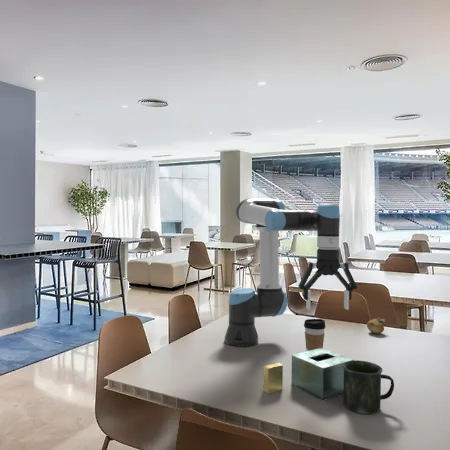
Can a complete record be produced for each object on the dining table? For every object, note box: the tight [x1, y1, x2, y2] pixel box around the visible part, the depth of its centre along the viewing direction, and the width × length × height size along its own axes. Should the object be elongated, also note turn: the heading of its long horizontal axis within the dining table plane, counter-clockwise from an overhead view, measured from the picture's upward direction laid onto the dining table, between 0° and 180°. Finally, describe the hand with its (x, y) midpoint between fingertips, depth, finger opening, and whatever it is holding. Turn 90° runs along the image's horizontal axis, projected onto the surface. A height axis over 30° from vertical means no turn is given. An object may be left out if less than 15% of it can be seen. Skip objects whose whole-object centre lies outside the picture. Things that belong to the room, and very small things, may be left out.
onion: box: [366, 316, 386, 335], centre depth 196 cm, size 8×8×8 cm
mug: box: [342, 359, 395, 415], centre depth 118 cm, size 11×15×12 cm
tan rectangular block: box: [262, 362, 284, 394], centre depth 129 cm, size 2×6×8 cm, turn 123°
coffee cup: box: [303, 318, 326, 352], centre depth 160 cm, size 8×8×15 cm
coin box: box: [291, 347, 354, 401], centre depth 132 cm, size 14×14×10 cm
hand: (327, 309), depth 140 cm, fingers open, 13 cm apart
